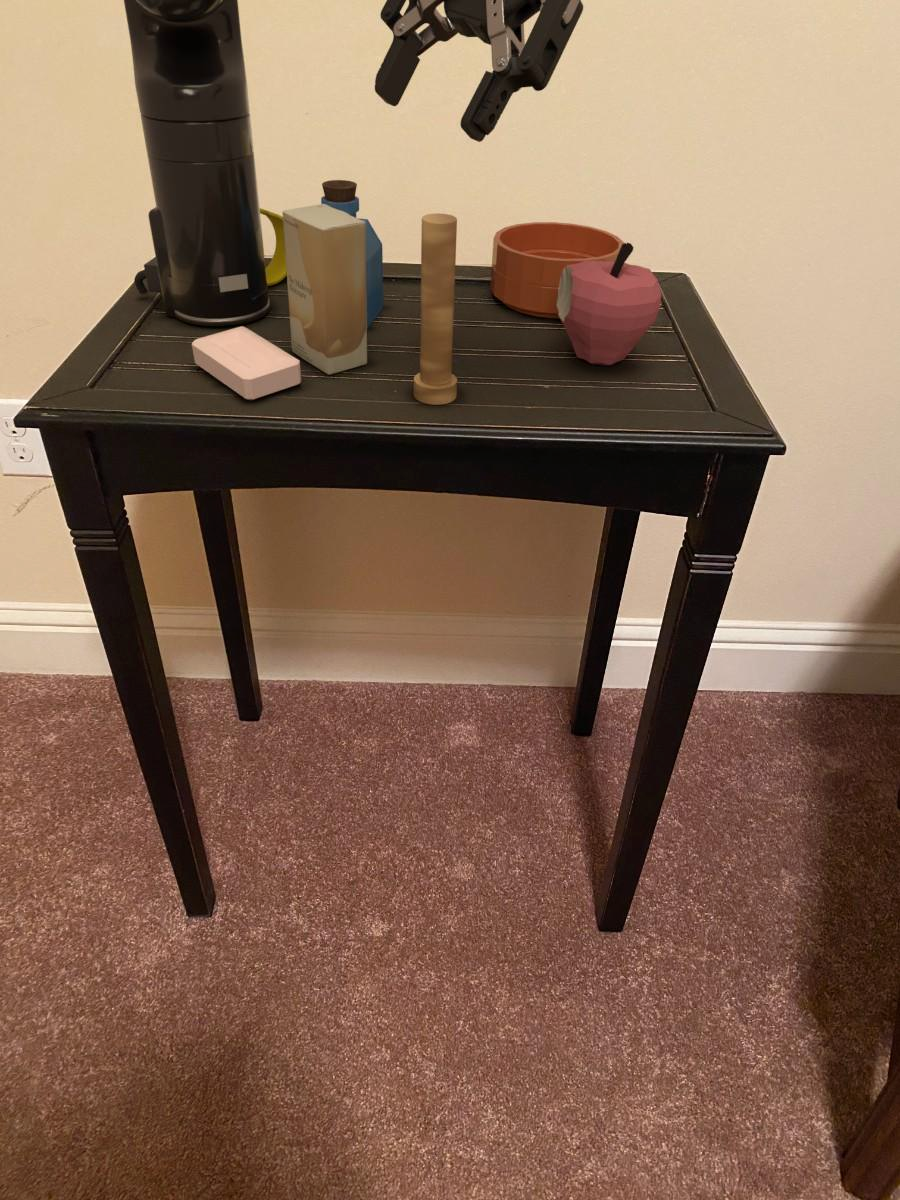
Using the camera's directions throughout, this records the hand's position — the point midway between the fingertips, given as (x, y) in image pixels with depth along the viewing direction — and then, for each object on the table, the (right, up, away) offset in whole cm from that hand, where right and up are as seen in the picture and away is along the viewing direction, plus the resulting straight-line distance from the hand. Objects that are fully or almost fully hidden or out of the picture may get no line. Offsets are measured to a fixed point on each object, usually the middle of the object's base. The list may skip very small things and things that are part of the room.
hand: (425, 116), depth 60 cm
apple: (+15, -12, +18) cm, 27 cm away
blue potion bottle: (-9, -6, +25) cm, 27 cm away
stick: (0, -17, +11) cm, 20 cm away
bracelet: (-20, +4, +31) cm, 37 cm away
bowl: (+13, -2, +30) cm, 33 cm away
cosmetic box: (-9, -13, +16) cm, 23 cm away
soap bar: (-16, -15, +13) cm, 25 cm away
